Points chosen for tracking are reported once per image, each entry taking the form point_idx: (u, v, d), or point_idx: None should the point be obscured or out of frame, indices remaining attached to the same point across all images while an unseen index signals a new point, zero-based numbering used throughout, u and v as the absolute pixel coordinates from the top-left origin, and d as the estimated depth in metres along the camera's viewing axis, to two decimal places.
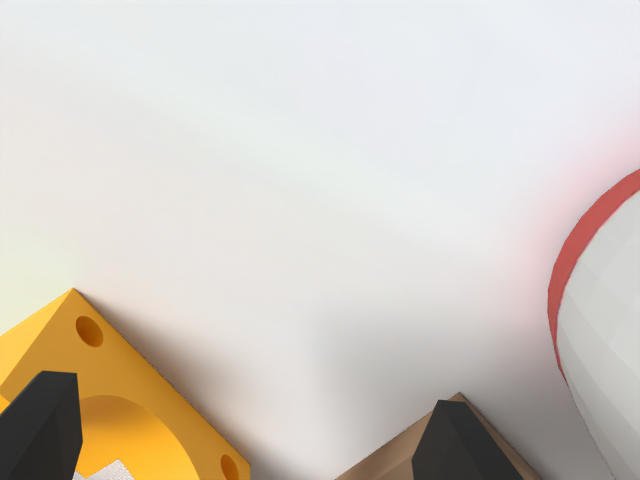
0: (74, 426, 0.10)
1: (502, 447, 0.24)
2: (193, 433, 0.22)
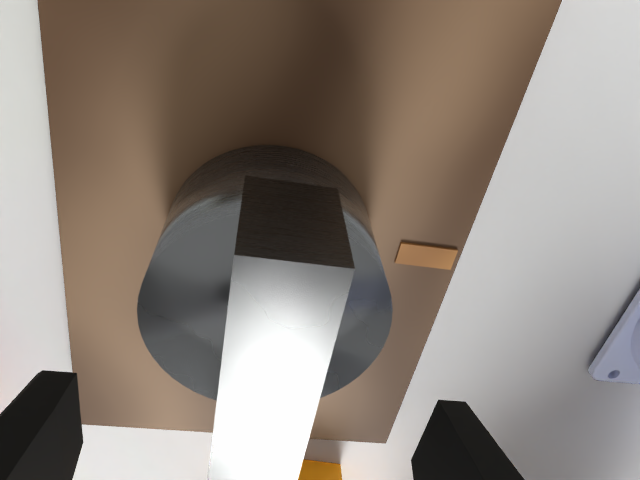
0: (74, 426, 0.10)
1: None
2: None
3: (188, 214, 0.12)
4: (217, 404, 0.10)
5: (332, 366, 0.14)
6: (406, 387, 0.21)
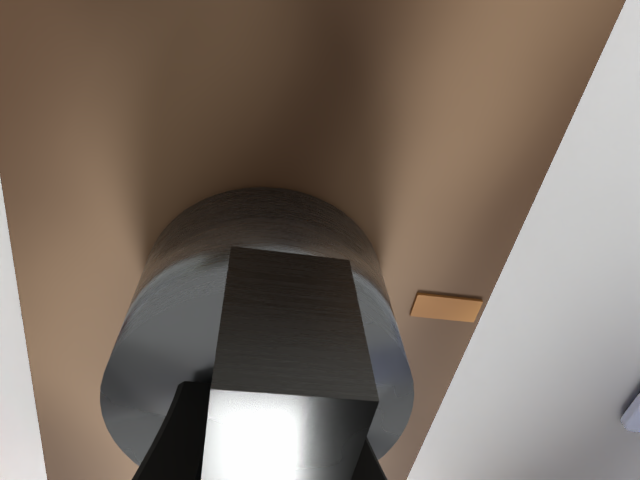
0: None
1: (42, 437, 0.17)
2: None
3: (162, 284, 0.10)
4: None
5: None
6: (420, 445, 0.18)
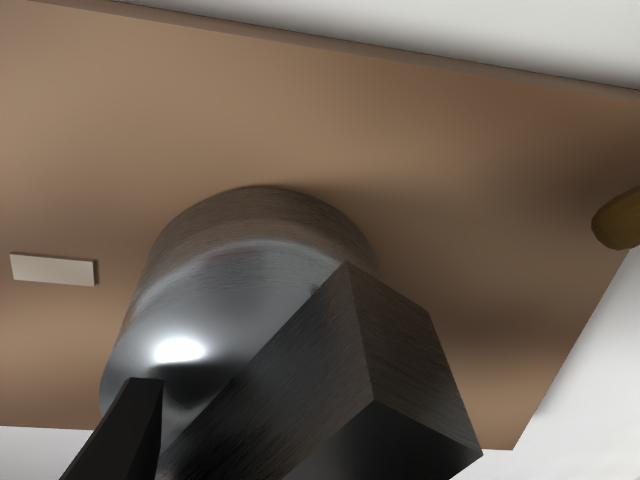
0: (158, 431, 0.10)
1: None
2: None
3: (233, 259, 0.10)
4: None
5: None
6: (44, 426, 0.16)
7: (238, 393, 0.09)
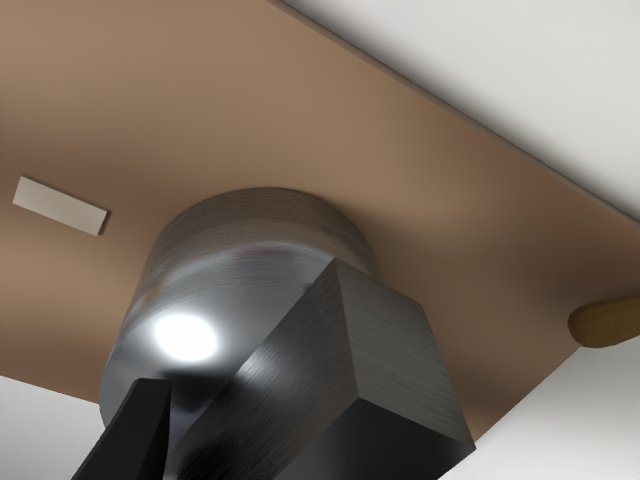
0: (167, 431, 0.10)
1: None
2: None
3: (226, 261, 0.10)
4: None
5: None
6: None
7: (235, 394, 0.09)
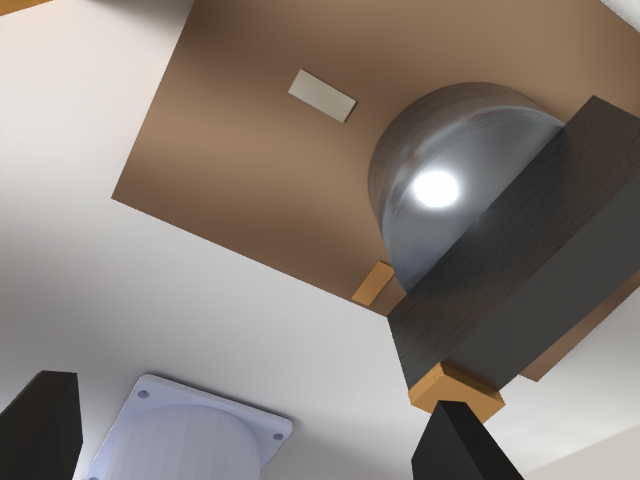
0: (74, 426, 0.10)
1: None
2: None
3: (493, 112, 0.13)
4: (538, 269, 0.11)
5: None
6: (210, 239, 0.18)
7: (506, 205, 0.13)
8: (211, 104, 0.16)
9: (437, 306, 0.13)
